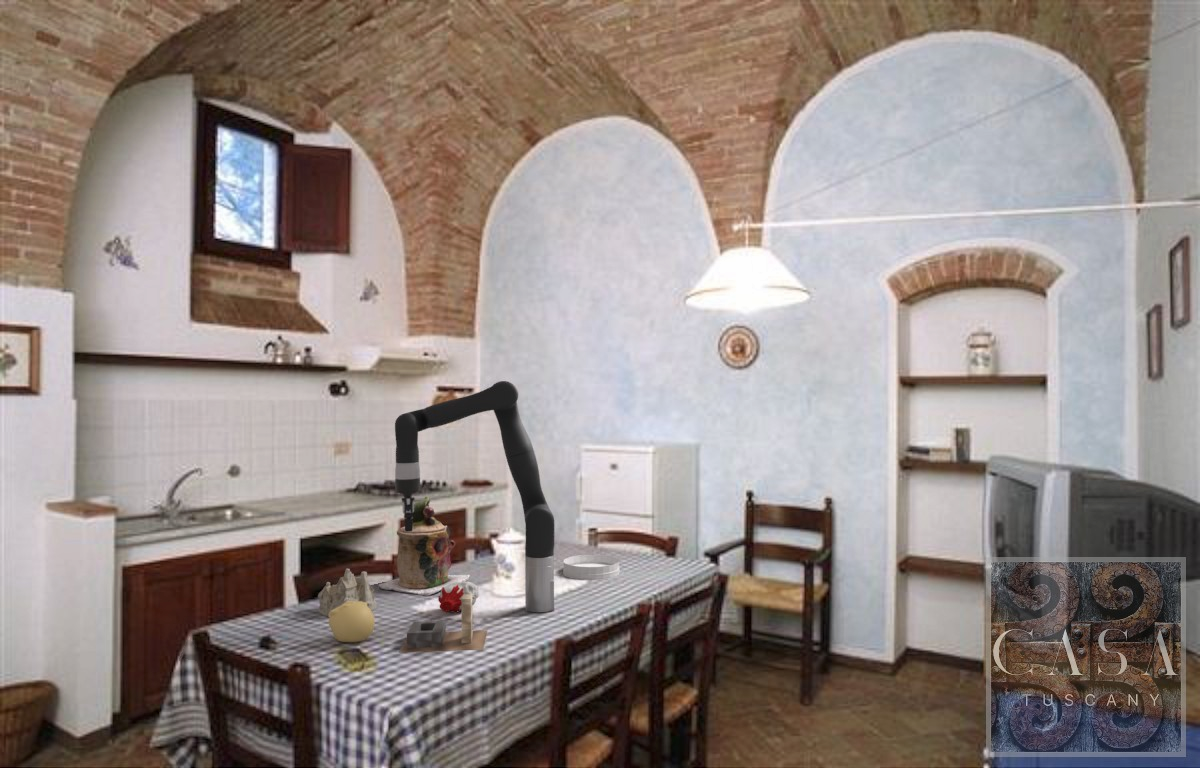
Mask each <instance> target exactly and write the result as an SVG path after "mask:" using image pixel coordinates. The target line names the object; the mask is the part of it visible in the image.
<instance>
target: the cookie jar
mask: <svg viewBox="0 0 1200 768" xmlns="http://www.w3.org/2000/svg"><path fill="white" fill-rule="evenodd" d="M430 501H431V499H430V498H429V496H428V495H427V496H425V497H424V499H423V500H421V501H417V502H415V504H414V512H413V519H412V531H405V526H402V527H400V528H398V529H397V531H396V534H397V536H398V537H399V539H398V548H397V560H396V568H397V573H398V578H396V579H392V580H389V581H385V582H383V583H380V584H378V585H377V586H378V587H379V589H382V590H385V591H391V590H392V591H395V592H400V593H405V594H415V595H420V596H425V597H428V596H431V595H433V594H436V593H438V592H441V590H442V588H443V587H445V586H447V585H449V584H451V583H454V582H468V581H469V579H470V574H456V575H453V574H451V575H450V574H449V571H450V568H451V567H452V562H451V554H450V553H451V551H452V550H453V548H454V547H455V546H456V542H455V541H454V540H453V539H450V534H451V530H450V528H449V526H448V525H443V524H442V522H441V521H440V520H437V519H436V518H435V517H434V516H435V511H434V510H435V509H434V508H433V507H430Z"/></svg>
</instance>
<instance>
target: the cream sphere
mask: <svg viewBox="0 0 1200 768" xmlns="http://www.w3.org/2000/svg"><path fill="white" fill-rule="evenodd" d="M327 617H328V626H329V628H330V629H331V632H332V635H333V637H334V638H335V639H336V640H337V641H338V642H342V643H357V642H363V641H365V640H367V639H368V638H369V637H371V635H372V633H373V631H374V629H375V625H376V624H375V623H376V620H375V615H374V613H373V611H371V609H370V608H369V607H368V606H367V603H365V602H362V601H358V602H355V601H346V602H345V603H343V604H342V605H341V606H339V607H337V608H335V609H333V610H331V611H330V612H329V614H328V616H327Z"/></svg>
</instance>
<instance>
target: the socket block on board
mask: <svg viewBox="0 0 1200 768" xmlns="http://www.w3.org/2000/svg"><path fill="white" fill-rule="evenodd" d="M446 622H447V621H446V620H433V621H432V620H430V621H413V622H412V623H411V625H410V627H409V629H408V631H407V633H406V639H405V641H404V643H402V645H401V646H402V647H401V648H400V650H399V651H398V653H422V652H423V653H424V652H448V651H449V652H451V651H453V652H454V651H481V650H482V651H483V650H484V648H485V645H486V644H485V643H486V640H487V635H488V630H487V629H486V630H473V637H472V641H471V643H462V630H459V631H446V628H447V627H446V626H447V625H446V624H447V623H446Z"/></svg>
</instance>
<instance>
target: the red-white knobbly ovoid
mask: <svg viewBox="0 0 1200 768" xmlns="http://www.w3.org/2000/svg"><path fill="white" fill-rule="evenodd" d="M463 594H472V607H473V606H474V605H475V604H476V602H477V599H478V598H479V595H480V594H479V586H477V585H476V584H474V583H473V582H471V581H465V582H454V583H451V584H449V585H447V586H445V587H443V588H442V590H440V595H438V599H437V601H438V602H439V609H440V610H441V611H442V612H452V613H454V612H457V611H459V612H462V597H463ZM457 613H458V612H457Z"/></svg>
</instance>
